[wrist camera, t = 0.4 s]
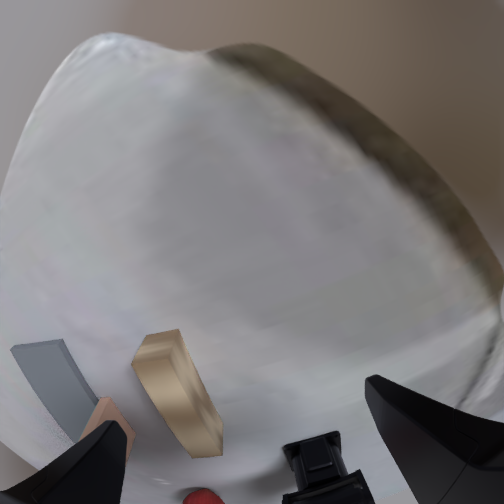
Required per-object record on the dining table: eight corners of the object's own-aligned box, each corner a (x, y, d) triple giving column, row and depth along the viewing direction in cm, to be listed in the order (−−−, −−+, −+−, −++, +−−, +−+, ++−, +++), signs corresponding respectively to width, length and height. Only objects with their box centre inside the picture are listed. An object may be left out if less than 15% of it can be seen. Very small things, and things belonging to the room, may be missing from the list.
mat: (128, 441, 25) (126, 447, 24) (76, 438, 25) (73, 442, 24) (62, 338, 21) (57, 343, 20) (14, 345, 21) (9, 349, 20)
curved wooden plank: (223, 422, 24) (222, 455, 20) (196, 426, 24) (192, 458, 20) (178, 327, 22) (167, 358, 17) (147, 334, 22) (131, 364, 17)
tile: (136, 433, 24) (119, 486, 17) (124, 433, 24) (107, 484, 17) (110, 397, 23) (84, 452, 15) (98, 397, 23) (71, 450, 15)
